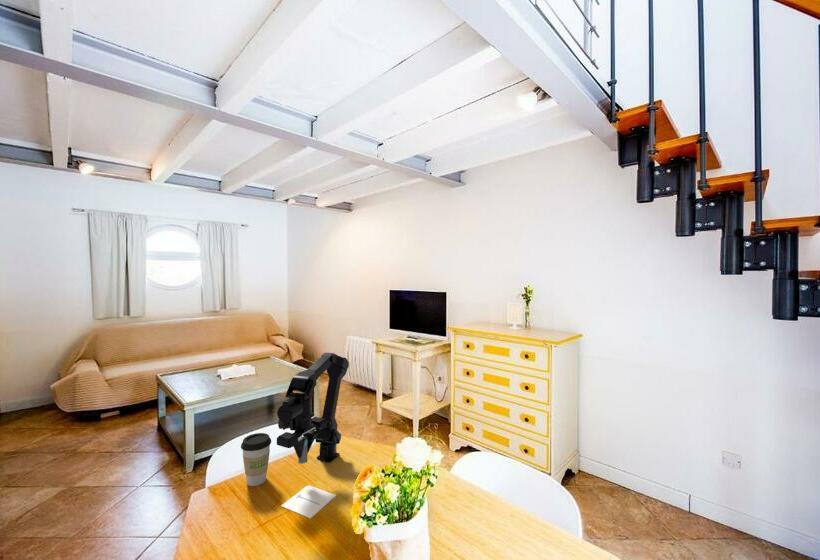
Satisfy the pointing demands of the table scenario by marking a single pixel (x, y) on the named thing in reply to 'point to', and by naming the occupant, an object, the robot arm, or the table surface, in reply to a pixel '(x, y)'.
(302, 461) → the marker
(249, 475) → the coffee cup
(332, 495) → the paper
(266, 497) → the table surface
